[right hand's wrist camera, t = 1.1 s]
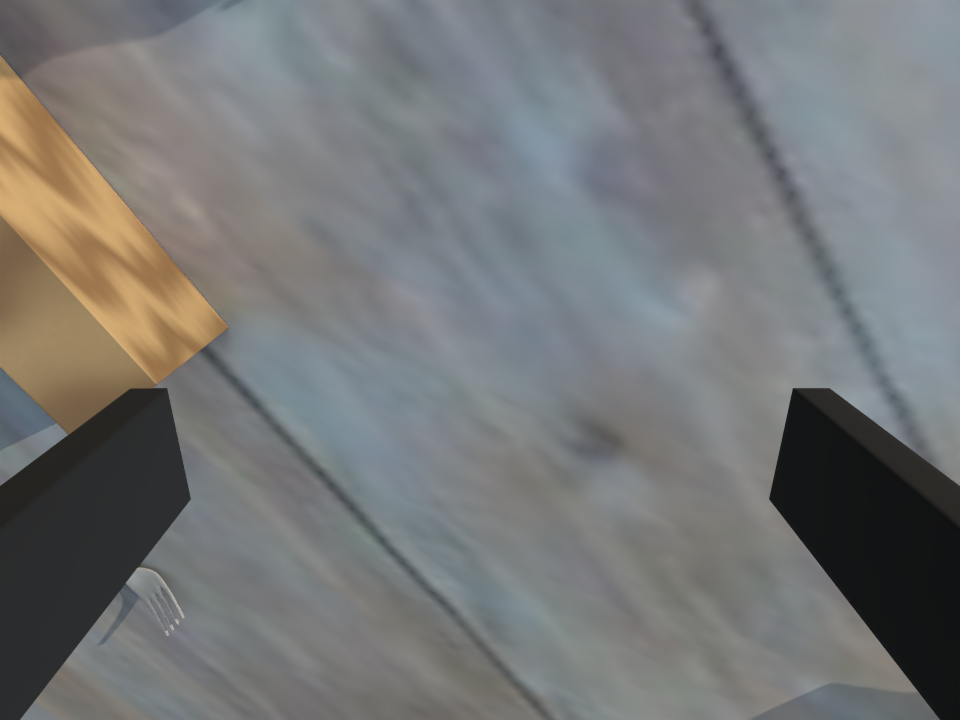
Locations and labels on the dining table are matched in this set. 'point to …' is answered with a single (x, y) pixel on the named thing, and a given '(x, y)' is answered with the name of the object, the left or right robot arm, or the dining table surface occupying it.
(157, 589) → the fork
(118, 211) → the bar
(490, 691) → the dining table surface
